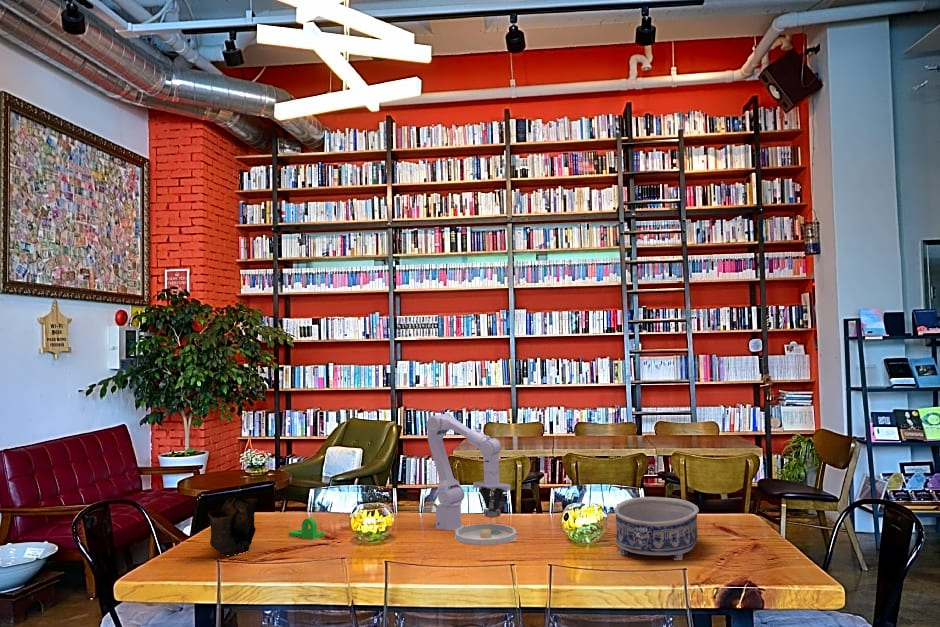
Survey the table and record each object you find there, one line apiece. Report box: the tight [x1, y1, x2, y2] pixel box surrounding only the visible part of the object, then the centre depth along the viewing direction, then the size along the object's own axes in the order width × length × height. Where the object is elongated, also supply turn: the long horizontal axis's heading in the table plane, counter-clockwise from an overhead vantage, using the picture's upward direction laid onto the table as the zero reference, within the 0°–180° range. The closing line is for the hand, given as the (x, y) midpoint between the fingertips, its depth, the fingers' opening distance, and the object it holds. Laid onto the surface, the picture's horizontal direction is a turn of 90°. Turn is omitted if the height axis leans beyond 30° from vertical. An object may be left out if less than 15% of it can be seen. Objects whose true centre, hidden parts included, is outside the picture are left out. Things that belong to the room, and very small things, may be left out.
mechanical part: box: [288, 517, 325, 540], centre depth 272 cm, size 12×6×8 cm, turn 60°
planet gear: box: [484, 499, 501, 519], centre depth 270 cm, size 6×6×6 cm
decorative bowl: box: [613, 496, 700, 561], centre depth 245 cm, size 42×27×15 cm, turn 154°
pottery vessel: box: [207, 496, 259, 556], centre depth 252 cm, size 25×11×20 cm, turn 170°
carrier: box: [454, 522, 518, 546], centre depth 265 cm, size 23×23×3 cm
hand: (492, 508), depth 270 cm, fingers closed on planet gear, 3 cm apart
